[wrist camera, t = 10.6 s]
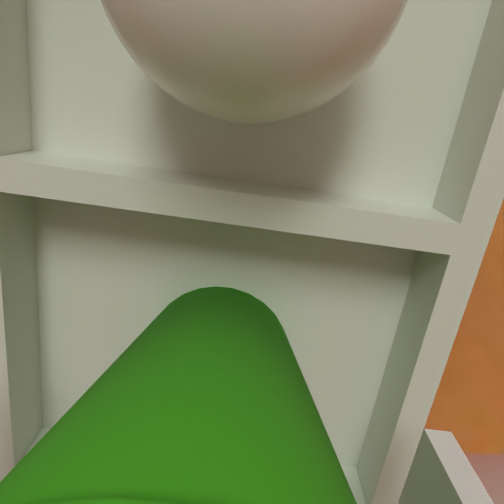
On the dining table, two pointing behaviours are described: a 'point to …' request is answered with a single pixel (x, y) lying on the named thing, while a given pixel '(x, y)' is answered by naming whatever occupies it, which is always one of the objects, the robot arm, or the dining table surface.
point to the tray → (248, 219)
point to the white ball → (254, 50)
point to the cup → (191, 419)
